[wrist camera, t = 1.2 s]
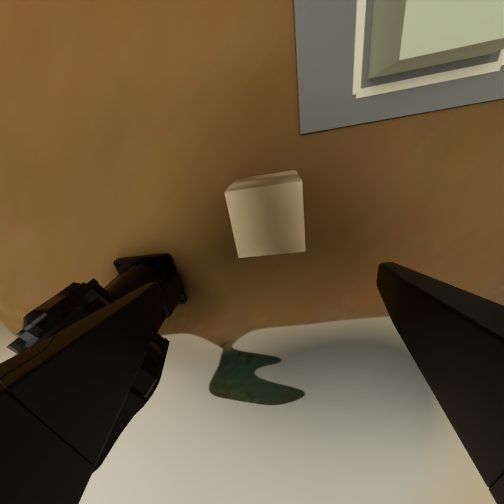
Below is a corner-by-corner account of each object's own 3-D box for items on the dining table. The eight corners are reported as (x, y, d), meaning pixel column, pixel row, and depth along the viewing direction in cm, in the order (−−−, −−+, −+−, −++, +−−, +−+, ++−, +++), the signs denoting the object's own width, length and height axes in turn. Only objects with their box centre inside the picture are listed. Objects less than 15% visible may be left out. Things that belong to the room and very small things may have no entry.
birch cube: (246, 232, 21) (238, 257, 16) (236, 178, 18) (224, 192, 14) (298, 226, 20) (305, 251, 16) (295, 169, 18) (302, 180, 13)
